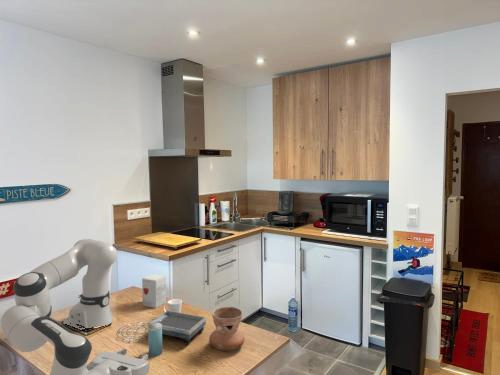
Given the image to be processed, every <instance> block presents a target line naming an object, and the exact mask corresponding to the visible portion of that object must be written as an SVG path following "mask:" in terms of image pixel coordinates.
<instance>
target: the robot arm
mask: <svg viewBox="0 0 500 375" xmlns="http://www.w3.org/2000/svg"><path fill="white" fill-rule="evenodd" d="M117 258H118V251H117V249H116V247H114V246H113V245H111V244H110V243H108V242H104V241H101V240H96V239H93V238H91V239H90V238H86V239H85V238H84V239H80V240H78V241H76V242H75V244H74V245H73V247H72V248H70V249H69V250H68V251H66V252H64V253H63V254H61V255H59V256H57V257H55V258H52V259H50V260H48V261H46V262H43V263H42V264H41V265H39V266H37V267H35V268H34V269H32V270H30V271H29V272H26V273H24V274H22V275H20V276H19V277H18V278H16V280H15V281H14V282H13V286H12V287H13V288H12V290H13V294H14V301H15V305H13V306H11V307H10V308H8V309H7V310H5V311H4V312H3V314H2V315H1V318H0V326H1V329H2V331H3V334H4V336H5V337H6V339H7V340H8V342H10V343H11V345H12V347H13V348H15V349H16V350H17V351H19V352H22V353H31V352H34V351H36V350H39V349H40V348H42V347H43V346H44V345H46V343H50V344H51V345H52V346H53V348H54V355H53V356H54V357H53V360H52V364H51V369H50V373H49V375H148V374H149V372H150V362H149V360H148V359H149V353H148V354H147V353H143V354H142V355H141V356H140V357H141V358H136V357H133V356H128V355H127V349H126V348H122V349H120V350H117V351H114V352H113V351H109V350H103V351H101V352H99V354H97V355H95V357H94V358H93V359H92V360H91V361H90V362H89V363H88V361H89V358H90V355H91V352H92V350H93V349H92V348H93V347H92V342H91V341H90V340H89V338H87V337H86V336H84V335H81V334H80V333H76V332H74V331H72V330H71V329H70V328H68V327H66V326H67V325H70V326H73V327H75V328H78V329H80V330H82V329H85V328H90V327H98V326H104V327H106V326H109V325H110V324H111V323H113V321H114V319H113V313H112V308H111V303H110V298H111V297H110V290H109V273H110V271H111V267H112V265H113V264H114V263H115V262H116V260H117ZM84 267H87V269H86V273H85V274H84V275H83V277H82V279H81V280H82V284H81V285H82V293H81V294H80V295H78V299H80V300H79V302H77V303H76V304H75V305H73V306H72V307H71V308H70V310H69V313H68V317H66V318H65V319H64V320H63V322H62V323H61V322H59V321H58V320H56V319H54V318H52V317H51V315H52V309H53V308H52V302H51V301H52V300H51V299H52V298H51V293H50V292H49V291H50V290H52V289H54V288H57V287H59V286H60V285H62V284H64V283H66V282H68V281H70V280H71V279H73V278H76V277H77V275H78V274H79V273H80V271H81V270H82V269H83V268H84ZM70 323H71V324H70ZM65 324H67V325H66V326H65ZM76 324H79V325H82V326H84V327H85V328H83V327H82V328H79V327H81V326H77V325H76ZM105 325H106V326H105ZM70 326H69V327H70Z"/></svg>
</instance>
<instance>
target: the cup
mask: <svg viewBox="0 0 500 375" xmlns="http://www.w3.org/2000/svg"><path fill="white" fill-rule="evenodd" d="M166 304H167V307H168V311H174V312H179V313H182V304H183V300H182V299H180V298H172V299H169V300H168V301H166V302H165V303H164V304H163V306H162V307H163V308H162V309H163V313H164V312H166V311H167V310H166Z"/></svg>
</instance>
